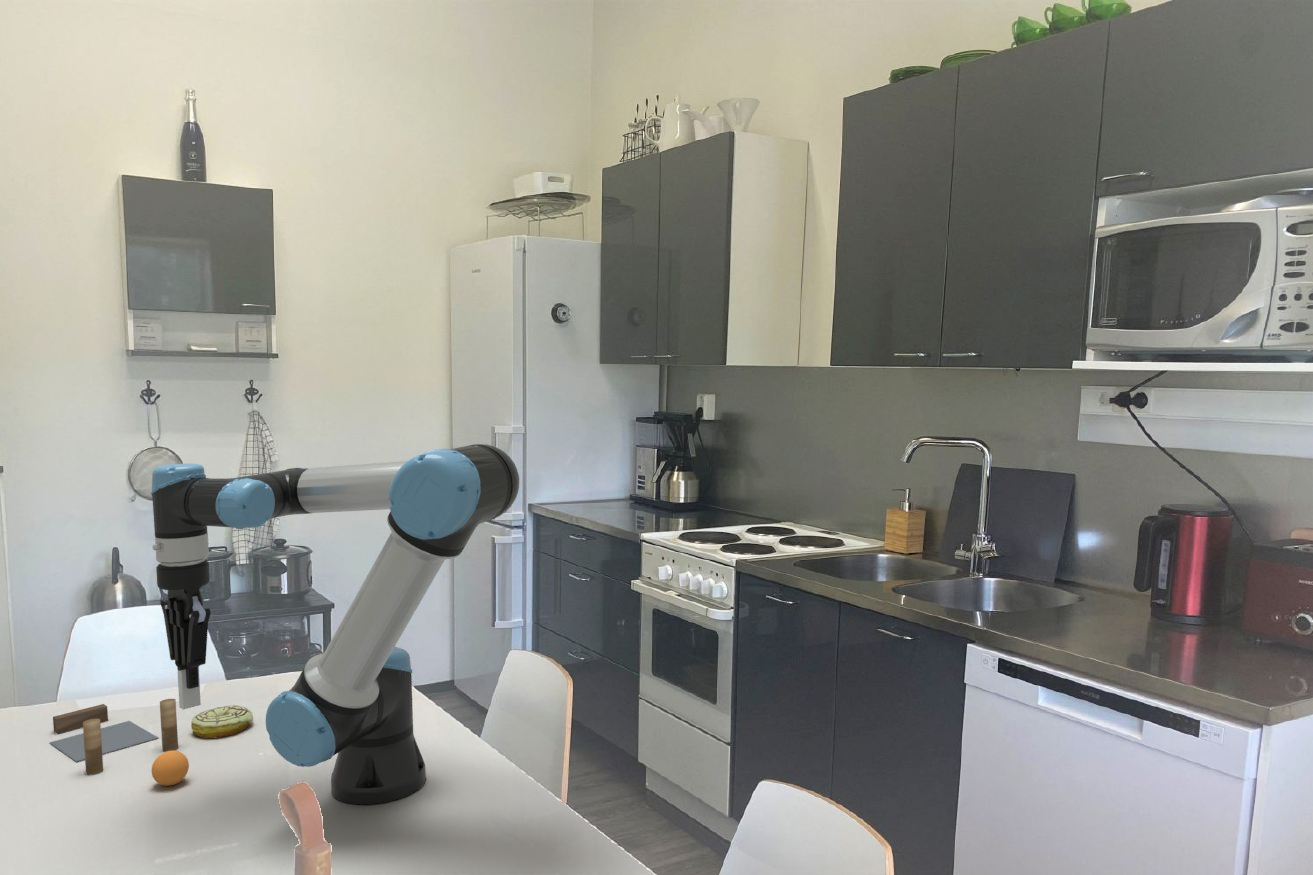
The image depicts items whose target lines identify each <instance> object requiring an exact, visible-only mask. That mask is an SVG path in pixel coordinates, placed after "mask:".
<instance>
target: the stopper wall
mask: <svg viewBox="0 0 1313 875" xmlns="http://www.w3.org/2000/svg"><path fill="white" fill-rule="evenodd" d="M89 719H100V724H102V723H104V722H105V723H106V722H109V712H108V705H107V704H104V703H102V704H98V705H94V706H91V707H86V708H82V709H79V710H75V711H72V712H71V711H70V712H67V713H64V714H60V715H59V714H58V715H55V716H52V724H53V725H52V726H53V732H54V733H55V734H56V735H59V734H60V735H61V734H64V733H68V732H71V731H75V730H78V729H83V722H84V721H86V720H89ZM101 722H102V723H101ZM67 731H68V732H67Z"/></svg>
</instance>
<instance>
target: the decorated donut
mask: <svg viewBox="0 0 1313 875" xmlns="http://www.w3.org/2000/svg"><path fill="white" fill-rule="evenodd" d="M253 720H254V715H253V712H252V711H251V709H249V708H248V707H245V706H242V705H235V704H231V705H225V706H218V707H214V708H212V709H207V710H205V711H202V712H200V713H198V714H196V715H194V716H193V718H192V719H191V721H190V722H191V726H190V727H191V730H192V731H193V733H194V734H195V735H196V734H197V735H196V736H198V737H199V736H200V738H203V737H207V738H206V739H216V738H215V737H220V738H224V737H228V736H234V735H236V734H239V733H241V732H242V731H244V730H245V729H246V728H247V727H248V726H249V725H250V724H251V723H252V722H253Z"/></svg>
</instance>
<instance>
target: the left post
mask: <svg viewBox="0 0 1313 875" xmlns="http://www.w3.org/2000/svg"><path fill="white" fill-rule="evenodd" d="M101 728H102V726H101V723H100V719H89V720H86V721H84V722H83V728H82V729H83V731H82V732H83V734H84V749H85V760H84V762H85V764H84V766H85V774H86V775H88V776H89V775H91V776H92V775H97V774H101V773H103V771H104V761H103V759H104V758H103V757H104V756H103V755H102V741H101Z"/></svg>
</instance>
